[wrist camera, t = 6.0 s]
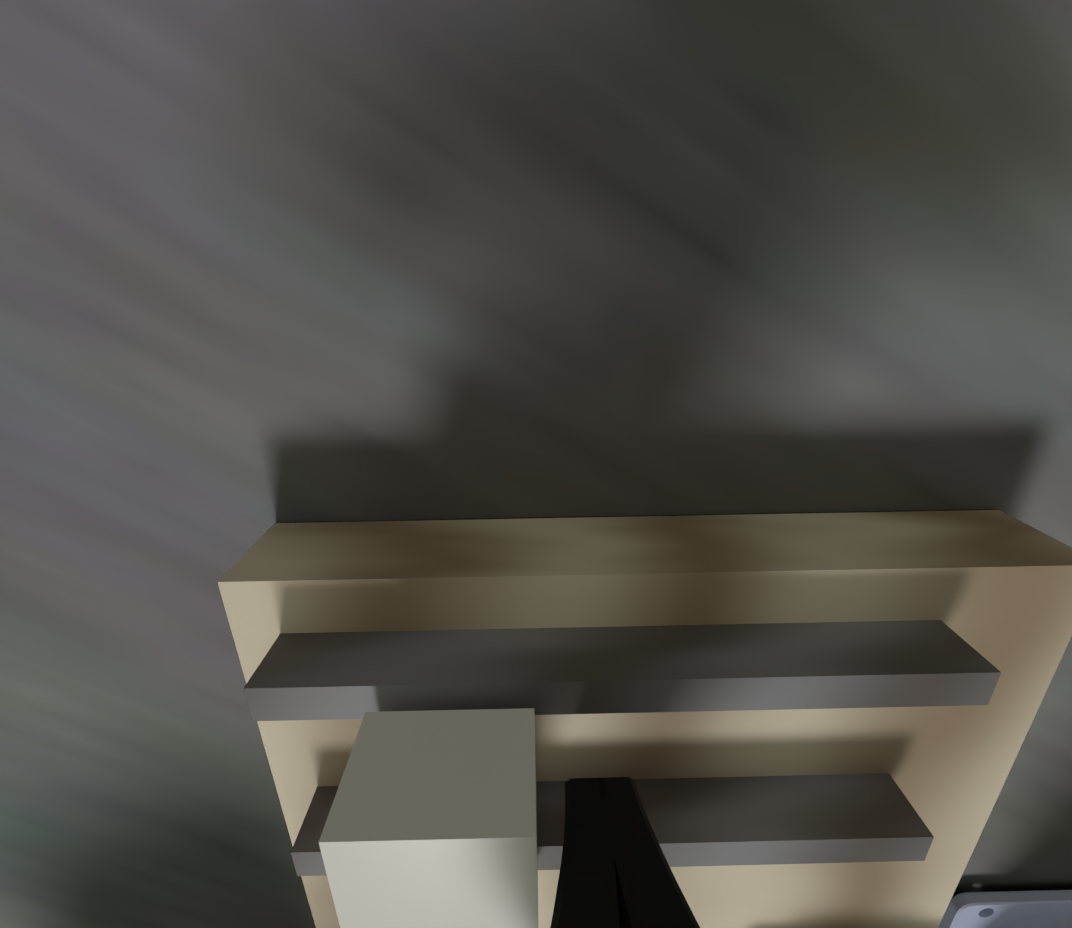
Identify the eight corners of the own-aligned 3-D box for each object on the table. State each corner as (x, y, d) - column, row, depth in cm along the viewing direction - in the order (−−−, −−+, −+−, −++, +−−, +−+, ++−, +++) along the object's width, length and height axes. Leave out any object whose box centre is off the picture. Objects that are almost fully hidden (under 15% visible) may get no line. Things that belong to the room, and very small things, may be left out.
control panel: (999, 510, 13) (1192, 610, 9) (817, 1021, 22) (878, 1179, 18) (274, 523, 13) (168, 632, 9) (389, 1033, 21) (360, 1195, 18)
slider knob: (533, 638, 11) (536, 837, 7) (536, 802, 13) (540, 1028, 9) (391, 641, 11) (318, 842, 7) (414, 805, 13) (367, 1032, 9)
